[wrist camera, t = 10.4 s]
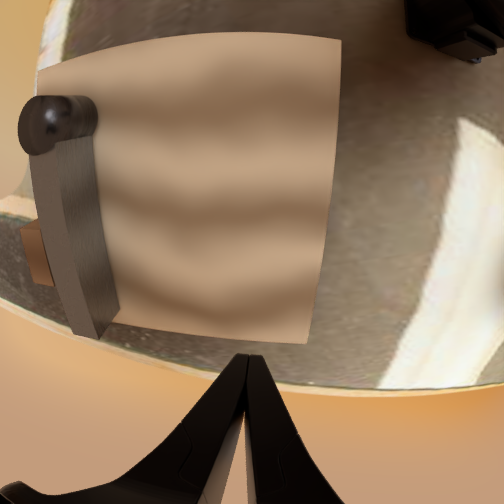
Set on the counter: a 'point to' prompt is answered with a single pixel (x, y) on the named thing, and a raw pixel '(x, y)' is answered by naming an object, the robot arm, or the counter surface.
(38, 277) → the block
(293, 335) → the tan flat square sheet
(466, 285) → the counter surface
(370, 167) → the counter surface
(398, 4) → the counter surface
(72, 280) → the swing bar
